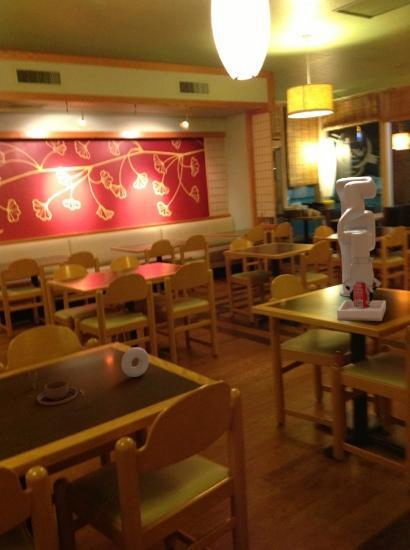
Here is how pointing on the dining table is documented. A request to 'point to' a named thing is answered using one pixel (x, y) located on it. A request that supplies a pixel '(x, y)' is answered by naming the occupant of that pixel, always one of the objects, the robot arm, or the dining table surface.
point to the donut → (141, 365)
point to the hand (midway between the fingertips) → (361, 300)
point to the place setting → (55, 391)
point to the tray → (361, 311)
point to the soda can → (361, 295)
